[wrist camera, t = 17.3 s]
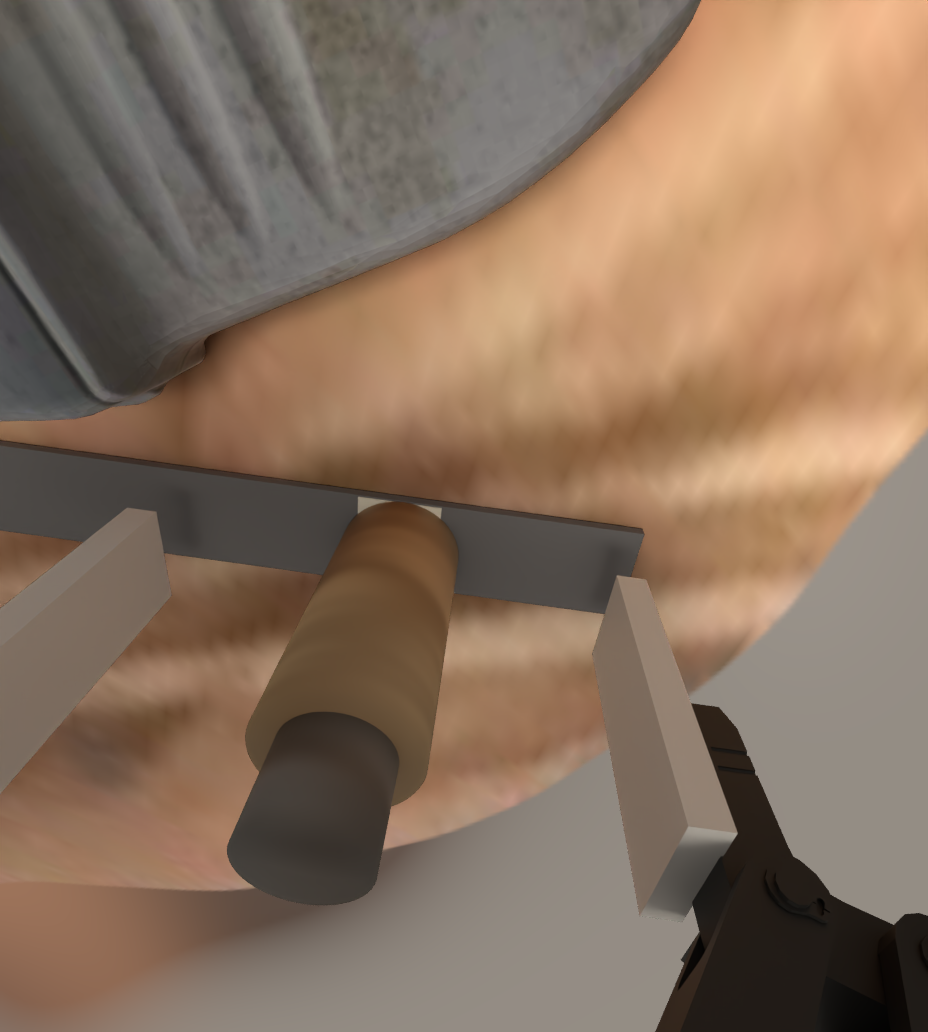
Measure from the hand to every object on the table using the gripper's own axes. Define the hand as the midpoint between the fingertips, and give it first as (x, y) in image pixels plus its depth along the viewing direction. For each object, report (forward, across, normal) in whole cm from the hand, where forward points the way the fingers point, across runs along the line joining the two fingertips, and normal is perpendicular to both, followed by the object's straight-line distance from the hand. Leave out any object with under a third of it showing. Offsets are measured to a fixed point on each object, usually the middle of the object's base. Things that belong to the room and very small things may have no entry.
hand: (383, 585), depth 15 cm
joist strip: (+2, -3, 0) cm, 4 cm away
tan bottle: (+2, 0, 0) cm, 2 cm away
